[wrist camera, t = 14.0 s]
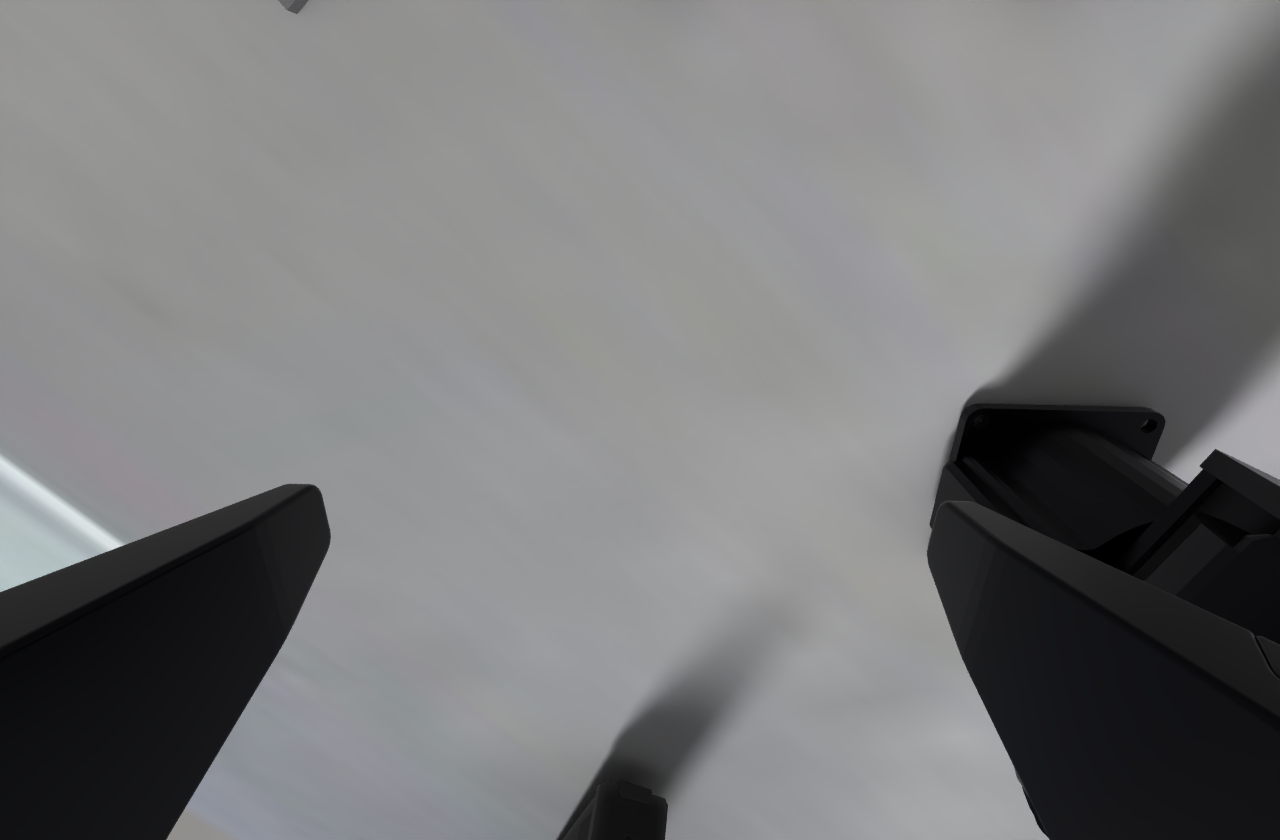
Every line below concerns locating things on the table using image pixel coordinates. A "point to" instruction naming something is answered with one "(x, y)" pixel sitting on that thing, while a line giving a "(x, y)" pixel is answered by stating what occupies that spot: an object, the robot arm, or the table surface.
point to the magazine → (621, 814)
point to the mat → (293, 5)
